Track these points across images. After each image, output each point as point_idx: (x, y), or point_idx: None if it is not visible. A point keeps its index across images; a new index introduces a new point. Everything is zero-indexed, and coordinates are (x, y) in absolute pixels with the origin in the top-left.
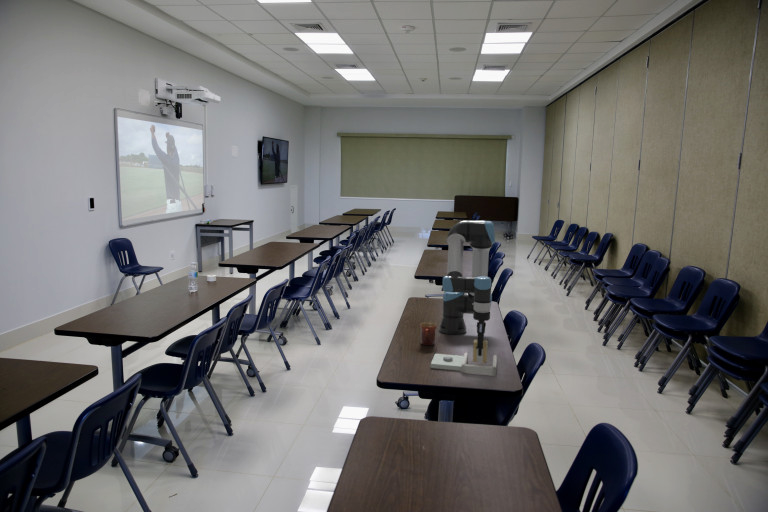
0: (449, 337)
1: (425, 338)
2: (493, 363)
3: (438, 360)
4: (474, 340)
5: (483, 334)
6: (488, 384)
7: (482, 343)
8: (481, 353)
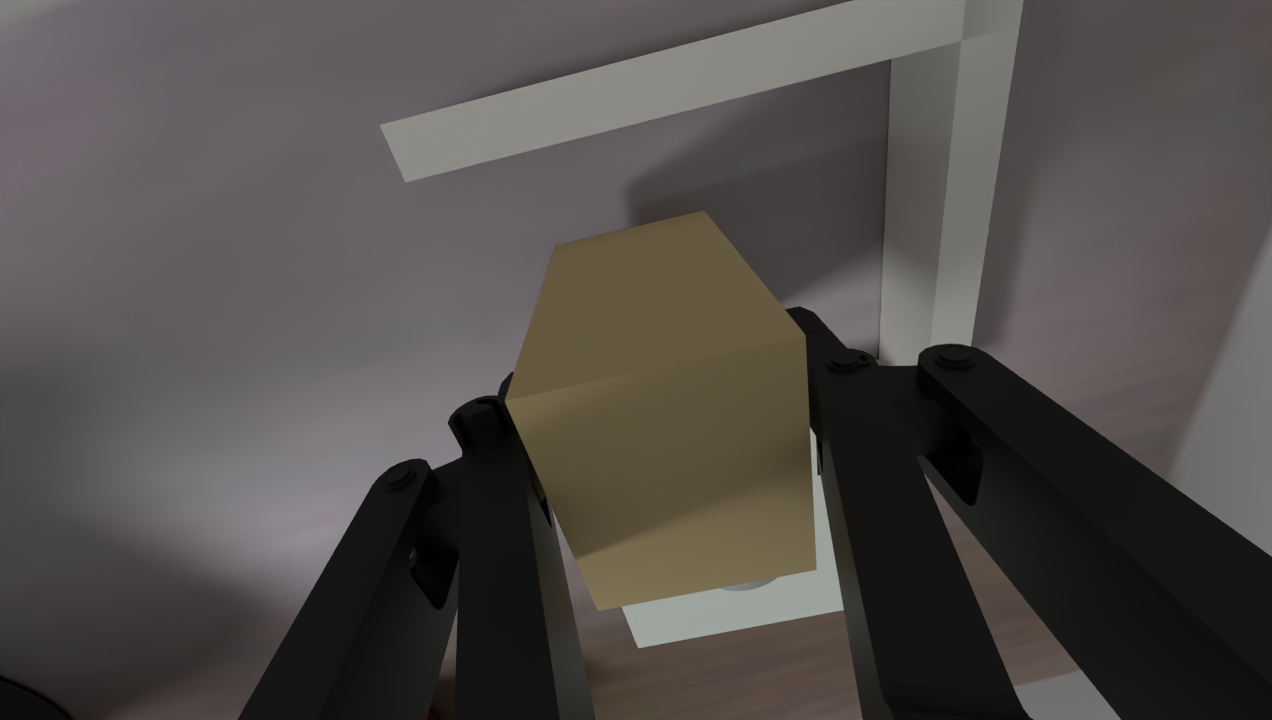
0: (122, 682)
1: None
2: (799, 72)
3: (786, 591)
4: (660, 594)
5: (552, 633)
6: (1247, 2)
7: (1079, 425)
8: (801, 325)
